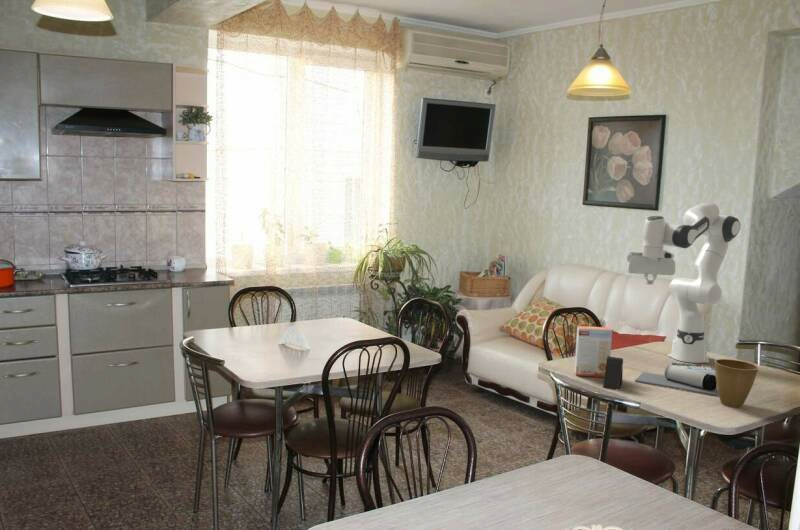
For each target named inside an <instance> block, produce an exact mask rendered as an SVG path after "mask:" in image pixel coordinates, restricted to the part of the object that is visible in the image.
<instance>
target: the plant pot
mask: <svg viewBox="0 0 800 530" xmlns="http://www.w3.org/2000/svg"><path fill="white" fill-rule="evenodd" d="M758 370H759V366H757V365H755V364H754V363H752V362H751V363H750V362H747V361H741V360H736V359H727V358H718V359H715V361H714V373H715V377H716V382H717V389H718V393H719V395H718V397H719V401H720V403H721V404H722V405H723V406H725V407H731V408H741V407H743V406H744V403H745V402H746V400H747V398H748V396H749V394H750V392H751V390H752V387H753V385H754V382H755V379H756V377H757V373H758Z"/></svg>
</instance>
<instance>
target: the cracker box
mask: <svg viewBox="0 0 800 530" xmlns="http://www.w3.org/2000/svg"><path fill="white" fill-rule="evenodd" d="M576 327H577V328H576V339H575V354H574V355H575V358H574V371H573V373H574V374H575V376H578V377H580V376H581V377H594V378H595V377H596V378H604V377H605V371H606V363H607V357H608V356H610V357H611V354H612V353H611V351H612V338H613V330H612V328H611V327H605V326H604V327H603V326H600V327H599V326H587V325H586V326H583V325H578V326H576Z"/></svg>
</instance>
